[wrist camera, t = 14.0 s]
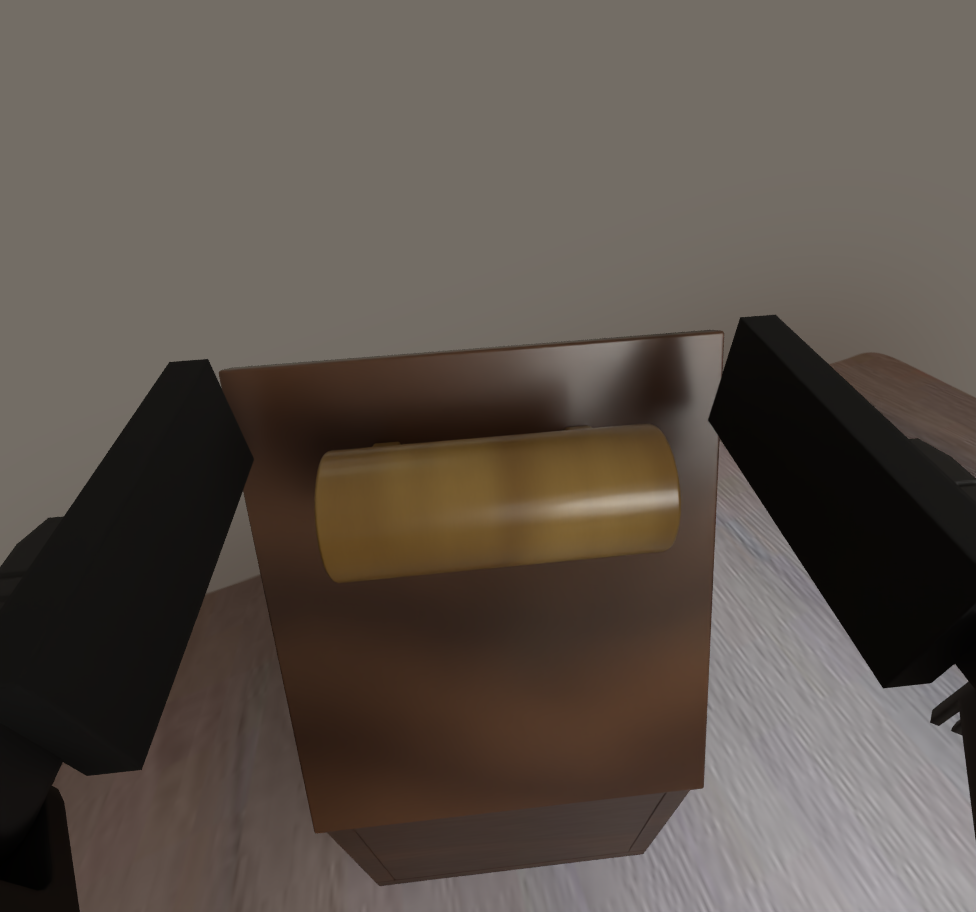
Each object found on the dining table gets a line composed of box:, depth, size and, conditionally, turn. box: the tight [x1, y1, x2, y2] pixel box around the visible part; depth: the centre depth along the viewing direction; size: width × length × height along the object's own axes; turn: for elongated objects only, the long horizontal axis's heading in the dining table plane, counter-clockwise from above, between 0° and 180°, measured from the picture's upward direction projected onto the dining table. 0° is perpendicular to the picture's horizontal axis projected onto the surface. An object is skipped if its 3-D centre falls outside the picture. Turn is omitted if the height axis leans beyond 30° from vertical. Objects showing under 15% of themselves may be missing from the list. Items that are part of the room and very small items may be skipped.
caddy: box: [327, 790, 690, 886], centre depth 26 cm, size 14×13×11 cm
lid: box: [219, 330, 724, 833], centre depth 13 cm, size 15×13×6 cm
